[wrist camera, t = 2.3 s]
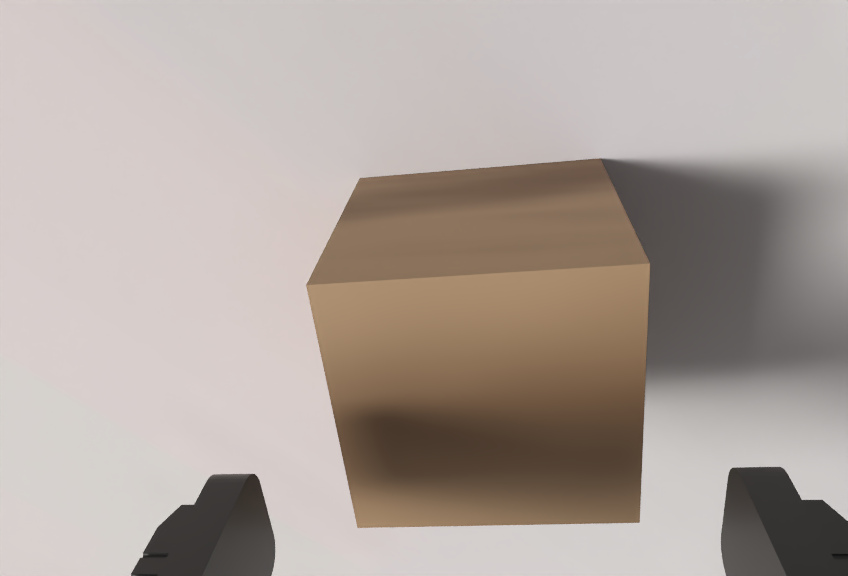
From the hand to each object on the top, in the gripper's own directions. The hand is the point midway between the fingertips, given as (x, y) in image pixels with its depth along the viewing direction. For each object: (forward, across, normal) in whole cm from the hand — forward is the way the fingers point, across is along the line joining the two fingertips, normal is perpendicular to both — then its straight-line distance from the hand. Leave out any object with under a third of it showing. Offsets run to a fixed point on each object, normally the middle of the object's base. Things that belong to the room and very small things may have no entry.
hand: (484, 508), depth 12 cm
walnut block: (+8, 0, -1) cm, 8 cm away
